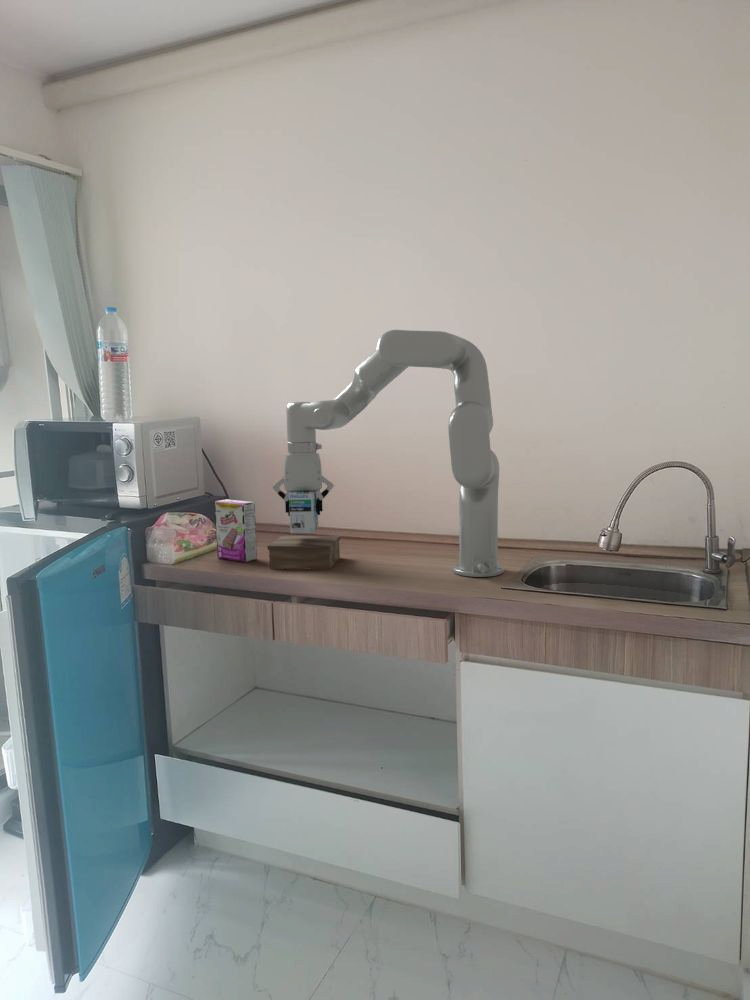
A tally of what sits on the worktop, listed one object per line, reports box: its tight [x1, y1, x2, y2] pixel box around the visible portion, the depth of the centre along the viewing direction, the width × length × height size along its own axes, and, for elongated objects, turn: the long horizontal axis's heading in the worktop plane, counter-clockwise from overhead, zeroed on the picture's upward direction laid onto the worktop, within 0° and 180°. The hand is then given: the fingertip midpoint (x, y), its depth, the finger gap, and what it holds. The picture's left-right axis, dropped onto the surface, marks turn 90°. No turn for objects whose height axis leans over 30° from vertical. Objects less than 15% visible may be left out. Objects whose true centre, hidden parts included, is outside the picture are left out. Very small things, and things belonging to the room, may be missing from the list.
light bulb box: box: [289, 491, 320, 534], centre depth 196 cm, size 11×7×11 cm, turn 179°
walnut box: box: [267, 534, 341, 570], centre depth 198 cm, size 15×17×6 cm
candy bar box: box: [214, 498, 258, 563], centre depth 204 cm, size 11×5×16 cm, turn 57°
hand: (304, 514), depth 196 cm, fingers closed on light bulb box, 7 cm apart
